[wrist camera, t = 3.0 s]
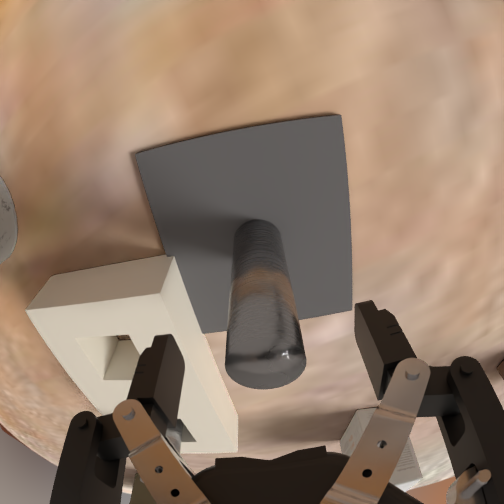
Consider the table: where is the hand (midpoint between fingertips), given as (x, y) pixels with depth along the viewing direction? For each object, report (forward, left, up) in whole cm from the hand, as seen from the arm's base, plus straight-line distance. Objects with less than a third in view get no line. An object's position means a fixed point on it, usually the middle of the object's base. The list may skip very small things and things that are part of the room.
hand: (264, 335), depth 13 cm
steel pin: (0, 0, -8) cm, 8 cm away
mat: (0, 0, -8) cm, 8 cm away
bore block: (+10, -11, -8) cm, 17 cm away
